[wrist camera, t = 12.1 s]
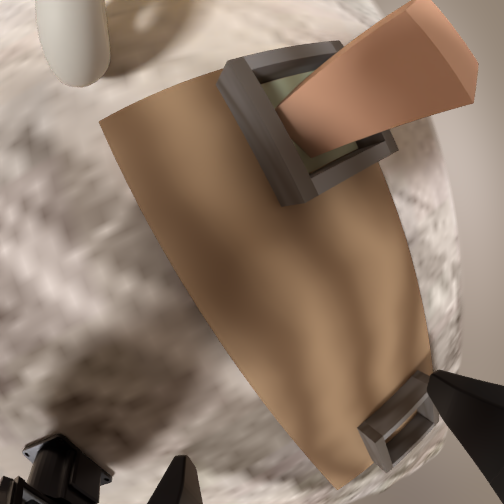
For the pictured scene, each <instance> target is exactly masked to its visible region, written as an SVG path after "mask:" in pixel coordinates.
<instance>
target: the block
mask: <svg viewBox="0 0 504 504" xmlns="http://www.w3.org/2000/svg"><path fill="white" fill-rule="evenodd" d="M478 65H479V64H478V62H477V60H476V59H475V57H474V56H473V54H472V53H471V51H470V49H469V48H468V47H467V45H466V44H465V42H464V41H463V39H462V38H461V37H460V35H459V34H458V33H457V31H456V30H455V28H454V27H453V26H452V24H451V23H450V22H449V21H448V19H447V18H446V17H445V16H444V15H443V13H442V12H441V11H440V10H439V9H438V7H437V6H436V5H435V4H434V3H433V2H432V1H431V0H411V1H409V2H408V3H406V4H405V5H403V6H401V7H400V8H398V9H397V10H395V11H394V12H392V13H391V14H389V15H388V16H386V17H385V18H383V19H382V20H380V21H379V22H377V23H376V24H375V25H373V26H372V27H370V28H369V29H368V30H366V31H365V32H363V33H362V34H361V35H359V36H358V37H357V38H355V39H354V40H353V41H351V42H350V43H349V44H347V45H346V46H345V47H343V48H342V49H341V50H340V51H338V52H337V53H336V54H334V55H333V56H332V57H331V58H329V59H328V60H327V61H326V62H324V63H323V64H322V65H321V66H320V67H318V68H317V69H316V70H315V71H314V72H312V73H311V74H310V75H309V76H308V77H306V78H305V79H304V80H303V81H302V82H301V83H299V84H298V85H297V86H296V87H295V88H294V89H293V90H292V91H291V92H290V93H289V94H288V95H287V96H286V97H285V98H284V99H283V100H282V102H281V103H280V104H279V105H278V106H277V107H276V108H275V111H276V112H277V114H278V116H279V118H280V120H281V121H282V123H283V125H284V127H285V129H286V131H287V132H288V134H289V136H290V138H291V139H292V140H293V141H294V142H295V143H296V144H297V145H298V146H299V147H300V148H301V149H302V150H303V151H304V152H305V153H306V154H307V155H308V156H309V157H311V158H313V157H316V156H318V155H321V154H323V153H326V152H328V151H331V150H333V149H336V148H338V147H341V146H344V145H346V144H349V143H352V142H354V141H357V140H360V139H362V138H365V137H368V136H371V135H374V134H376V133H379V132H382V131H385V130H388V129H391V128H394V127H397V126H400V125H403V124H406V123H409V122H412V121H415V120H418V119H421V118H424V117H428V116H431V115H434V114H437V113H441V112H444V111H448V110H451V109H455V108H458V107H462V106H465V105H469V104H473V103H474V97H475V91H476V83H477V75H478Z"/></svg>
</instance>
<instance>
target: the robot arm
mask: <svg viewBox="0 0 504 504" xmlns="http://www.w3.org/2000/svg"><path fill="white" fill-rule="evenodd" d="M427 394H428V396H429V397H430V399H431V400H432V402H433V404H434V405H435V407H436V409H437V410H438V412H439V414H440V416H441V417H442V419H443V420H444V422H445V423H446V425H447V426H448V427H449V428H450V430H451V431H452V432H453V434H454V435H455V436H456V438H457V439H458V440H459V442H460V443H461V444H462V446H463V447H464V448H465V450H466V451H467V453H468V454H469V455H470V457H471V458H472V459H473V461H474V462H475V464H476V465H477V466H478V467H479V469H480V470H481V472H482V473H483V475H484V476H485V478H486V479H487V481H488V482H489V483H490V485H491V487H492V488H493V490H494V491H495V493H496V494H497V495H498V497H499V498H500V500H501V502H502V503H503V504H504V386H502V385H498V384H493V383H489V382H485V381H481V380H477V379H473V378H469V377H465V376H462V375H458V374H454V373H450V372H447V371H443V370H437V371H435V372H433V373H432V374H431V375H430V377H429V381H428V385H427ZM60 439H61V440H60ZM22 453H23V455H24V456H25V457H26V458H27V459H29V460H30V461H31V462H32V463H33V466H32V469H31V472H30V475H29V478H28V481H27V483H26V482H25V480H24V479H22V478H21V477H20V476H18V477H17V478H15V479H14V480H13V479H12V478H8V477H5V476H3V477H2V478H1V481H0V504H97V503H99V495H100V486H101V485H104V484H108V483H110V482H112V477H111V476H110V475H109V474H108V473H107V472H105V471H104V470H103V469H101V468H100V467H99V466H98V465H96V464H95V463H94V462H93V461H91V460H90V459H89V458H88V457H87V456H86V455H84V454H83V453H82V452H81V451H80V450H79V449H78V448H77V447H75V446H74V445H73V444H72V443H71V442H70V441H69V440H68V439H67V438H66V437H65V436H63V435H61V434H57V435H55V436H53V437H50V438H48V439H46V440H43V441H41V442H39V443H36V444H34V445H31V446H29V447H26V448H24V449H23V452H22ZM147 504H203V502H202V497H201V492H200V487H199V481H198V475H197V470H196V467H195V466H194V464H193V463H192V461H191V460H190V458H189V457H188V456H187V455H178V456H175V457H174V458H173V460H172V462H171V464H170V465H169V467H168V469H167V471H166V472H165V474H164V476H163V477H162V479H161V481H160V483H159V484H158V486H157V488H156V489H155V491H154V493H153V495H152V496H151V498H150V500H149V501H148V503H147Z"/></svg>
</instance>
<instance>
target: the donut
mask: <svg viewBox="0 0 504 504" xmlns="http://www.w3.org/2000/svg"><path fill="white" fill-rule="evenodd" d="M35 11H36V23H37V29H38V35H39V40H40V43H41V46H42V50H43V53H44V56H45V58H46V60H47V63H48V65H49V67H50V69H51V71H52V72H53V73H54V74H55V76H56V77H57V78H58V79H59V80H60V81H61V82H62V83H63V84H65V85H68V86H71V87H85V86H89V85H91V84H93V83H95V82H96V81H98V80H99V79H100V78H101V77H102V76H103V75H104V73H105V72H106V70H107V69H108V66H109V62H110V42H109V34H108V25H107V17H106V9H105V0H35Z"/></svg>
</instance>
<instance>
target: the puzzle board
mask: <svg viewBox="0 0 504 504" xmlns="http://www.w3.org/2000/svg"><path fill="white" fill-rule="evenodd" d="M342 48H343V45H342V44H341V42H340V41H328V42H319V43H311V44H304V45H297V46H291V47H285V48H280V49H275V50H270V51H265V52H260V53H256V54H252V55H247V56H243V57H240V58H236V59H232V60H228V61H227V63H226V65H225V67H224V68H223V69H220V70H217V71H214V72H211V73H208V74H205V75H202V76H199V77H196V78H193V79H190V80H188V81H185V82H182V83H180V84H177V85H175V86H172V87H170V88H167V89H165V90H162V91H160V92H158V93H155V94H153V95H151V96H149V97H146V98H144V99H142V100H140V101H138V102H136V103H133V104H131V105H129V106H127V107H125V108H123V109H121V110H119V111H117V112H115V113H114V114H112V115H110V116H108V117H106V118H104V119H102V120H101V121H99V124H100V126H101V128H102V130H103V133H104V135H105V137H106V139H107V142H108V144H109V146H110V148H111V150H112V152H113V155H114V157H115V159H116V161H117V163H118V165H119V167H120V169H121V171H122V173H123V175H124V177H125V179H126V182H127V184H128V186H129V187H130V189H131V191H132V193H133V195H134V197H135V199H136V201H137V203H138V205H139V207H140V209H141V211H142V213H143V215H144V216H145V218H146V220H147V222H148V224H149V226H150V227H151V229H152V231H153V233H154V235H155V237H156V238H157V240H158V242H159V244H160V245H161V247H162V249H163V251H164V252H165V254H166V256H167V258H168V259H169V261H170V263H171V265H172V266H173V268H174V270H175V271H176V273H177V275H178V276H179V278H180V280H181V281H182V283H183V285H184V286H185V288H186V290H187V291H188V293H189V294H190V296H191V298H192V299H193V301H194V302H195V304H196V306H197V307H198V309H199V310H200V312H201V313H202V315H203V317H204V318H205V320H206V321H207V323H208V324H209V326H210V327H211V329H212V330H213V332H214V333H215V335H216V336H217V338H218V339H219V341H220V342H221V344H222V345H223V347H224V348H225V350H226V351H227V353H228V354H229V355H230V357H231V358H232V360H233V361H234V363H235V364H236V365H237V367H238V368H239V370H240V371H241V373H242V374H243V375H244V377H245V378H246V379H247V381H248V382H249V384H250V385H251V386H252V388H253V389H254V390H255V392H256V393H257V394H258V396H259V397H260V398H261V400H262V401H263V402H264V404H265V405H266V406H267V408H268V409H269V410H270V412H271V413H272V414H273V415H274V417H275V418H276V419H277V420H278V422H279V423H280V424H281V426H282V427H283V428H284V429H285V431H286V432H287V433H288V434H289V435H290V437H291V438H292V439H293V440H294V442H295V443H296V444H297V445H298V446H299V448H300V449H301V450H302V451H303V452H304V453H305V455H306V456H307V457H308V458H309V459H310V460H311V462H312V463H313V464H314V465H315V466H316V467H317V468H318V470H319V471H320V472H321V473H322V474H323V475H324V476H325V477H326V479H327V480H328V481H329V482H330V483H331V484H332V485H333V486H334V487H335V488H336V489H337V490H339V489H340V488H341V487H343V486H344V485H346V484H347V483H348V482H350V481H351V480H352V479H354V478H355V477H356V476H358V475H359V474H360V473H362V472H363V471H364V470H365V469H367V468H368V467H369V466H370V465H372V464H373V463H376V464H377V465H378V466H379V467H380V468H381V469H382V470H384V471H385V472H386V473H387V472H389V471H390V470H391V469H392V468H393V467H394V466H395V465H397V464H398V463H399V462H400V461H401V460H402V459H403V458H404V457H405V456H406V455H407V454H408V453H409V452H410V451H411V450H412V449H413V448H414V447H415V446H416V445H417V444H418V443H419V442H420V441H421V440H422V439H423V438H424V437H425V436H426V435H427V434H428V433H429V432H430V431H431V430H432V428H433V427H434V426H435V425H436V424H437V423H438V422H439V412H438V410H437V409H436V407H435V405H434V404H433V402H432V400H431V399H430V397H429V396H428V394H427V385H428V381H429V377H430V375H431V374H432V373H433V368H432V359H431V351H430V344H429V338H428V331H427V325H426V320H425V314H424V309H423V304H422V299H421V295H420V290H419V286H418V282H417V278H416V274H415V270H414V266H413V262H412V258H411V255H410V251H409V248H408V244H407V241H406V238H405V234H404V231H403V228H402V225H401V222H400V219H399V216H398V213H397V210H396V207H395V204H394V202H393V199H392V196H391V193H390V191H389V188H388V186H387V183H386V180H385V178H384V175H383V173H382V171H381V168H380V166H379V163H378V161H380V160H382V159H384V158H385V157H387V156H389V155H391V154H393V153H394V152H396V151H398V148H397V145H396V143H395V141H394V138H393V136H392V134H391V132H390V129H388V130H385V131H382V132H379V133H376V134H374V135H371V136H368V137H365V138H362V139H360V140H357V141H354V142H352V143H349V144H346V145H344V146H341V147H338V148H336V149H333V150H331V151H328V152H326V153H323V154H321V155H318V156H316V157H313V158H311V157H309V156H308V155H307V154H306V153H305V152H304V151H303V150H302V149H301V148H300V147H299V146H298V145H297V144H296V143H295V142H294V141H293V140H292V139H291V138H290V136H289V134H288V132H287V131H286V129H285V127H284V125H283V123H282V121H281V120H280V118H279V116H278V114H277V112H276V111H275V108H276V107H277V106H278V105H279V104H280V103H281V102H282V100H283V99H284V98H285V97H286V96H287V95H288V94H289V93H290V92H291V91H292V90H293V89H294V88H295V87H296V86H297V85H298V84H299V83H301V82H302V81H303V80H304V79H305V78H306V77H308V76H309V75H310V74H311V73H312V72H314V71H315V70H316V69H317V68H318V67H320V66H321V65H322V64H323V63H324V62H326V61H327V60H328V59H329V58H331V57H332V56H333V55H334V54H336V53H337V52H338V51H340V50H341V49H342Z"/></svg>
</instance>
